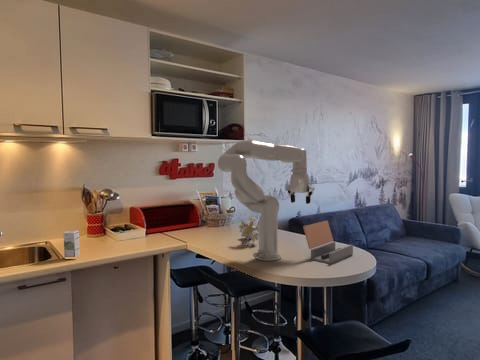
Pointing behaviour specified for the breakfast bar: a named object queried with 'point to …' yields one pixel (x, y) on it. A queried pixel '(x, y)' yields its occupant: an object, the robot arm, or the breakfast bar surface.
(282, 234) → the breakfast bar surface
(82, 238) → the breakfast bar surface
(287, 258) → the breakfast bar surface
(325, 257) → the grey plastic bar
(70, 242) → the syrup box
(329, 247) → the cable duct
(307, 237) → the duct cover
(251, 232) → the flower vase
